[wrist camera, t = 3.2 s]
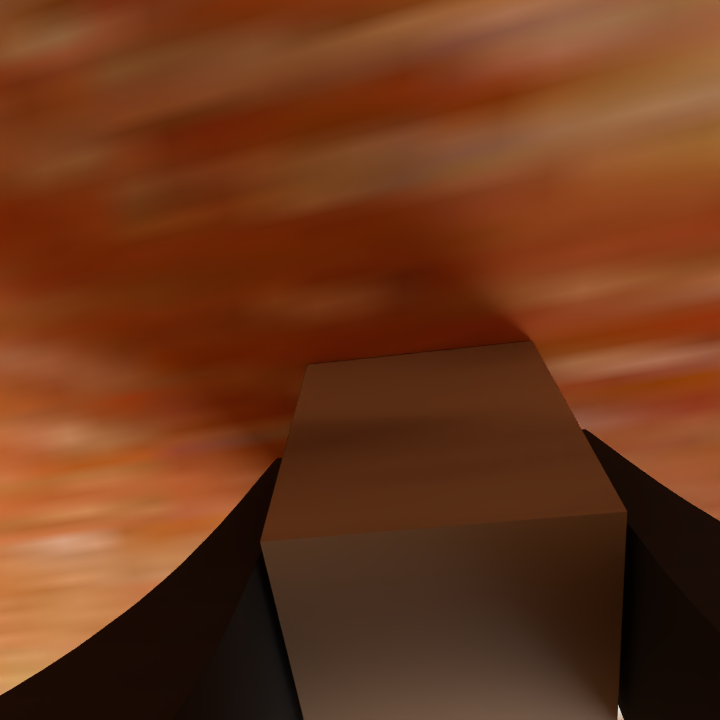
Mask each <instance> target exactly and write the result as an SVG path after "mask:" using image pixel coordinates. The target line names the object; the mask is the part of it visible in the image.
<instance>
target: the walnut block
mask: <svg viewBox="0 0 720 720" xmlns="http://www.w3.org/2000/svg"><path fill="white" fill-rule="evenodd" d="M626 526H627V510H626V508H625V507H624V505H623V503H622V501H621V499H620V498H619V496H618V494H617V492H616V491H615V489H614V487H613V485H612V483H611V482H610V480H609V478H608V476H607V474H606V473H605V471H604V469H603V467H602V465H601V464H600V462H599V460H598V458H597V456H596V455H595V453H594V451H593V449H592V447H591V446H590V444H589V442H588V440H587V439H586V437H585V435H584V433H583V431H582V430H581V428H580V426H579V424H578V422H577V421H576V419H575V417H574V415H573V413H572V412H571V410H570V408H569V406H568V404H567V403H566V401H565V399H564V397H563V395H562V394H561V392H560V390H559V388H558V386H557V385H556V383H555V381H554V379H553V378H552V376H551V374H550V372H549V370H548V369H547V367H546V365H545V363H544V361H543V360H542V358H541V356H540V354H539V352H538V351H537V349H536V347H535V345H534V343H533V342H532V341H525V342H516V343H506V344H497V345H488V346H478V347H469V348H460V349H450V350H441V351H431V352H422V353H413V354H403V355H394V356H384V357H375V358H366V359H356V360H347V361H338V362H328V363H319V364H309V365H307V368H306V372H305V375H304V379H303V383H302V387H301V390H300V394H299V398H298V402H297V405H296V409H295V413H294V417H293V420H292V424H291V428H290V432H289V435H288V439H287V443H286V447H285V450H284V454H283V458H282V462H281V465H280V469H279V473H278V477H277V480H276V484H275V488H274V492H273V495H272V499H271V503H270V507H269V510H268V514H267V518H266V522H265V525H264V529H263V533H262V537H261V540H260V543H261V548H262V552H263V556H264V560H265V564H266V568H267V572H268V576H269V580H270V584H271V588H272V592H273V596H274V600H275V604H276V608H277V612H278V617H279V621H280V625H281V629H282V633H283V637H284V641H285V645H286V649H287V653H288V657H289V661H290V665H291V669H292V673H293V677H294V682H295V686H296V690H297V694H298V698H299V702H300V706H301V710H302V714H303V718H304V720H617V715H618V694H619V673H620V652H621V631H622V610H623V589H624V568H625V547H626Z"/></svg>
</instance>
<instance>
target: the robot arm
mask: <svg viewBox="0 0 720 720" xmlns="http://www.w3.org/2000/svg"><path fill="white" fill-rule="evenodd" d="M582 431H583V433H584V435H585V437H586V439H587V440H588V442H589V444H590V446H591V447H592V449H593V451H594V453H595V455H596V456H597V458H598V460H599V462H600V464H601V465H602V467H603V469H604V471H605V473H606V474H607V476H608V478H609V480H610V482H611V483H612V485H613V487H614V489H615V491H616V492H617V494H618V496H619V498H620V499H621V501H622V503H623V505H624V507H625V508H626V510H627V526H626V547H625V568H624V589H623V610H622V631H621V652H620V673H619V694H618V705H619V708H620V710H621V713H622V716H623V718H624V720H720V521H719V520H717V519H715V518H714V517H712V516H710V515H709V514H707V513H706V512H704V511H702V510H701V509H699V508H697V507H696V506H694V505H692V504H691V503H689V502H688V501H686V500H685V499H683V498H681V497H680V496H678V495H677V494H675V493H674V492H672V491H671V490H669V489H668V488H666V487H665V486H663V485H662V484H660V483H659V482H658V481H656V480H655V479H653V478H652V477H650V476H649V475H647V474H646V473H645V472H643V471H642V470H640V469H639V468H638V467H636V466H635V465H634V464H632V463H631V462H629V461H628V460H627V459H625V458H624V457H623V456H621V455H620V454H619V453H617V452H616V451H615V450H613V449H612V448H611V447H609V446H608V445H607V444H605V443H604V442H603V441H601V440H600V439H598V438H597V437H596V436H594V435H593V434H592V433H590V432H589V431H587V430H586V429H583V430H582ZM281 462H282V458H277V459H276V460H275V461H274V462H273V463H272V464H271V466H270V467H269V468H268V469H267V470H266V471H265V473H264V474H263V475H262V476H261V477H260V478H259V480H258V481H257V482H256V483H255V484H254V486H253V487H252V488H251V489H250V490H249V492H248V493H247V494H246V495H245V496H244V498H243V499H242V500H241V501H240V502H239V503H238V505H237V506H236V507H235V508H234V509H233V510H232V511H231V513H230V514H229V515H228V516H227V517H226V518H225V519H224V521H223V522H222V523H221V524H220V525H219V526H218V527H217V528H216V529H215V530H214V531H213V532H212V533H211V534H210V535H209V537H208V538H207V539H206V540H205V541H204V542H203V543H202V544H201V545H200V546H199V547H198V548H197V549H196V550H195V551H194V552H193V553H192V554H191V555H190V556H189V557H188V558H187V559H186V560H185V561H184V562H183V563H182V564H181V565H180V566H179V567H178V568H177V569H176V570H174V571H173V572H172V573H171V574H170V575H169V576H168V577H167V578H166V579H164V580H163V581H162V582H161V583H160V584H159V585H158V586H156V587H155V588H154V589H153V590H152V591H150V592H149V593H148V594H147V595H146V596H145V597H143V598H142V599H141V600H140V601H139V602H137V603H136V604H135V605H134V606H132V607H131V608H130V609H129V610H127V611H126V612H125V613H123V614H122V615H120V616H119V617H118V618H116V619H115V620H114V621H112V622H111V623H110V624H108V625H107V626H106V627H104V628H103V629H101V630H100V631H99V632H97V633H96V634H95V635H93V636H92V637H91V638H89V639H88V640H86V641H85V642H84V643H82V644H81V645H80V646H78V647H77V648H75V649H74V650H72V651H71V652H69V653H68V654H66V655H65V656H63V657H62V658H60V659H59V660H57V661H56V662H54V663H53V664H51V665H49V666H48V667H46V668H45V669H43V670H42V671H40V672H38V673H37V674H35V675H34V676H32V677H30V678H29V679H27V680H25V681H24V682H22V683H21V684H19V685H17V686H16V687H14V688H12V689H11V690H9V691H7V692H5V693H4V694H2V695H0V720H304V718H303V714H302V710H301V706H300V702H299V698H298V694H297V690H296V686H295V682H294V677H293V673H292V669H291V665H290V661H289V657H288V653H287V649H286V645H285V641H284V637H283V633H282V629H281V625H280V621H279V617H278V612H277V608H276V604H275V600H274V596H273V592H272V588H271V584H270V580H269V576H268V572H267V568H266V564H265V560H264V556H263V552H262V548H261V543H260V540H261V537H262V533H263V529H264V525H265V522H266V518H267V514H268V510H269V507H270V503H271V499H272V495H273V492H274V488H275V484H276V480H277V477H278V473H279V469H280V465H281Z"/></svg>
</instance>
